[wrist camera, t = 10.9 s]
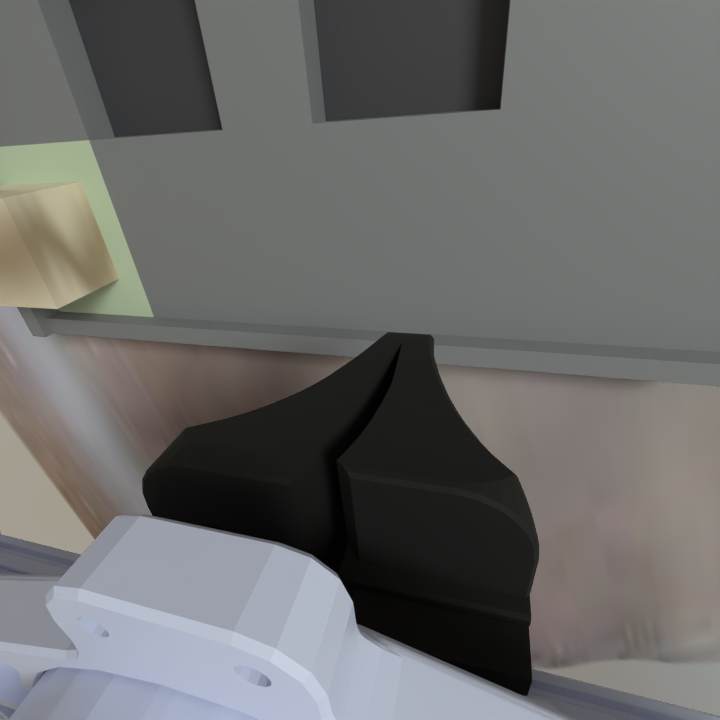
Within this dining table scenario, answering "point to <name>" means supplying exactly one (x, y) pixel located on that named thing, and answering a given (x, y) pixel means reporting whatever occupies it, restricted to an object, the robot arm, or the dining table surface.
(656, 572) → the dining table surface
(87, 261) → the birch block
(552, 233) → the board
